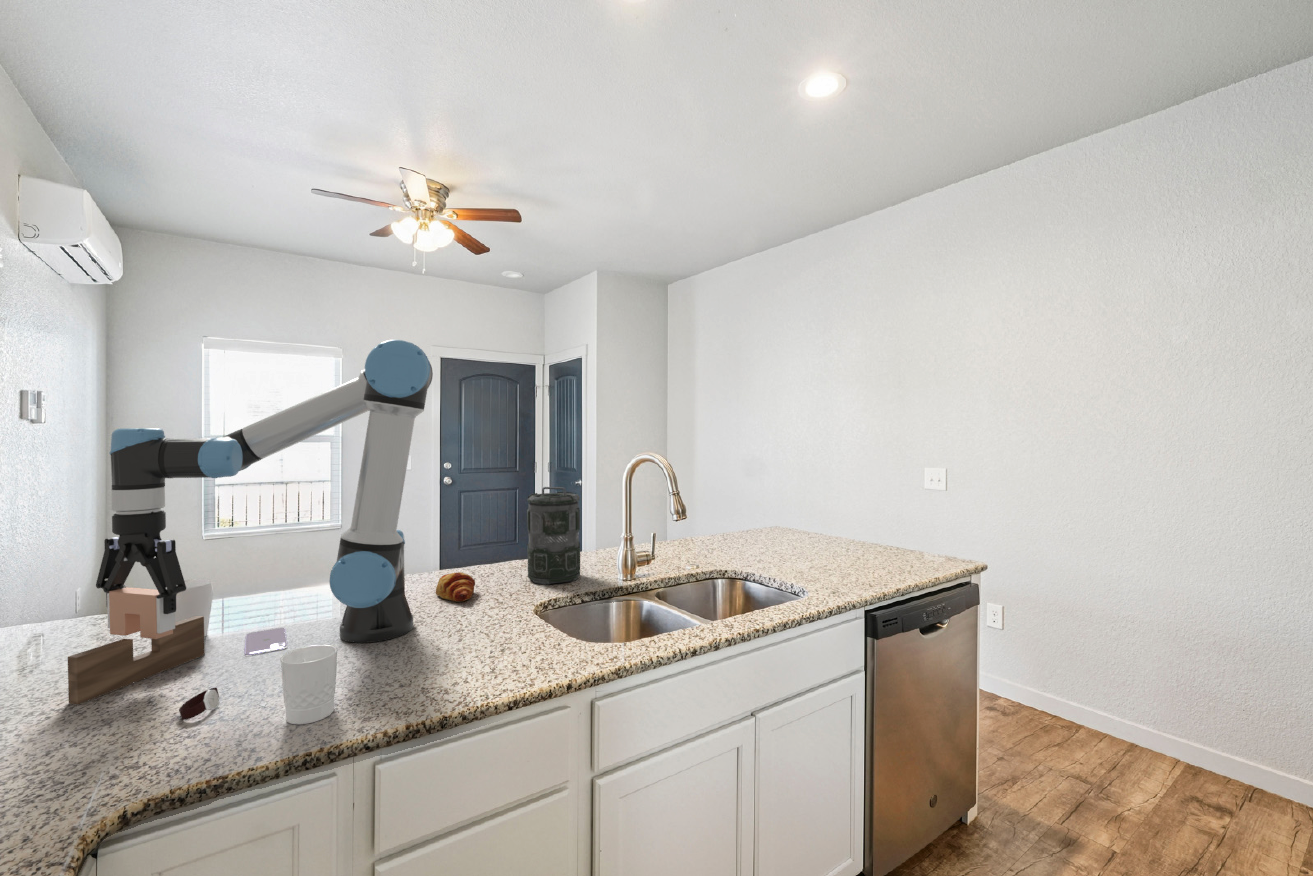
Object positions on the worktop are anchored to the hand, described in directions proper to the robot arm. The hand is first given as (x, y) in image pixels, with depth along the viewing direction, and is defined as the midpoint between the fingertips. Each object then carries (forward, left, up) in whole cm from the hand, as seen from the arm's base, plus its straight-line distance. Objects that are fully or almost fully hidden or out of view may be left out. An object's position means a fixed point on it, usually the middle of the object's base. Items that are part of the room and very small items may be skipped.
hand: (141, 628), depth 110 cm
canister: (-47, -83, -9) cm, 96 cm away
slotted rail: (0, 0, -9) cm, 9 cm away
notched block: (0, 0, -1) cm, 1 cm away
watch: (-23, +8, -10) cm, 26 cm away
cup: (+12, -18, -9) cm, 24 cm away
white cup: (-42, +5, -9) cm, 43 cm away
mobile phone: (-7, -20, -10) cm, 23 cm away
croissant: (-28, -61, -10) cm, 67 cm away
